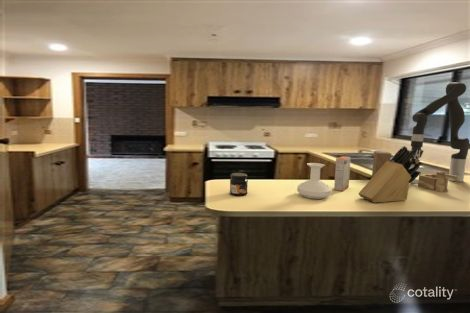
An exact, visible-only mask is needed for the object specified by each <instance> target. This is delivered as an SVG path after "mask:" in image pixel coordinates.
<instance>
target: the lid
mask: <svg viewBox="0 0 470 313" xmlns="http://www.w3.org/2000/svg"><path fill="white" fill-rule="evenodd" d="M410 161H412V158H411V159H410ZM415 162H416V164H417V163H419V162H421V161H420V158H419V159H416V158H415ZM414 166H415V164H412V165H411V167H410V168H409V169H411V168H413V167H414ZM421 169H425V166H422V165H421V166H420V167H419V168H418V169H417V170H421Z"/></svg>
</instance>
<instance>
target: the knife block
mask: <svg viewBox="0 0 470 313" xmlns="http://www.w3.org/2000/svg"><path fill="white" fill-rule="evenodd" d="M414 155H415V152H414V151H411V152H409V149H408V147H407V146H405V145H404V146H402V147H401V148H400V149H398V151H397V152H396V153H395V154H394V155H393V156H392V158H391V160H390V162H389V161H387V162H386V163H385V164H384V165H383V166H382V167H381V168H380V169H379V171H378V172H377V173H376V174H375V175H374V176H371V179H369V181H368V182H367V183H366V184H365V185H364V186H363V187H362V188H361V190H360V191H359V192H358V195H359V197H360V198H363V199H366V200H367V201H370V202H372V203H374V204H375V203H376V204H377V203H386V202H387V203H389V202H397V201H407V199H408V193H409V187H410V184H411V182H412V181H413V180H415V179H417V177H419V175H422V172H421V171H419V169H418V168H419V167H420V166H422V165H423V163H422V162H421V161H419V163H417V164H416V162H414V161H413V162H411V158H412V157H413V156H414ZM413 163H415V166H414V167H413V168H411V169H409V168H410V167H411V165H412V164H413Z"/></svg>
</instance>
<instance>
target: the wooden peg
mask: <svg viewBox="0 0 470 313" xmlns="http://www.w3.org/2000/svg"><path fill="white" fill-rule="evenodd" d="M440 172H441V173H442V172H443V171H440ZM436 176H437V173H436ZM444 178H448V179H453V180H458V179H459V176H455V175H450V174H445V177H444Z"/></svg>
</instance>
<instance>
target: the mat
mask: <svg viewBox="0 0 470 313" xmlns="http://www.w3.org/2000/svg"><path fill="white" fill-rule="evenodd" d="M418 181H419V179H417V178H416V179H415V180H413V181H412V182H411V183H410V184H412V185H416V184H417V185H418Z"/></svg>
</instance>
